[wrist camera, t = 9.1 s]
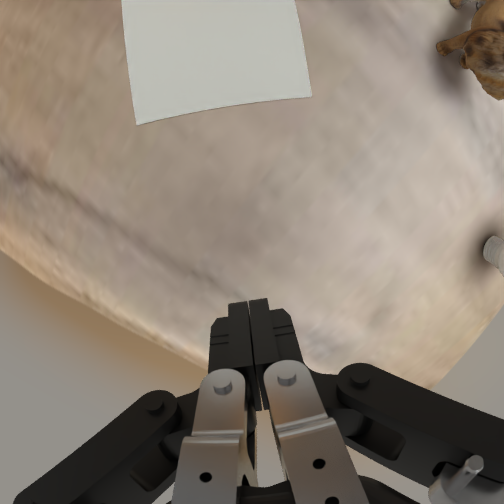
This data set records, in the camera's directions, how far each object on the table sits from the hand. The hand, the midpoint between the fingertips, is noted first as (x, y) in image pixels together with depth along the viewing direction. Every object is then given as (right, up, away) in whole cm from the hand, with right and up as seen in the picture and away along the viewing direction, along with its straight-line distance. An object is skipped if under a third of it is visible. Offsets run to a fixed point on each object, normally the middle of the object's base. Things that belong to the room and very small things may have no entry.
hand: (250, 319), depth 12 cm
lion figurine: (+18, +21, +5) cm, 29 cm away
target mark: (-3, +18, +5) cm, 18 cm away
